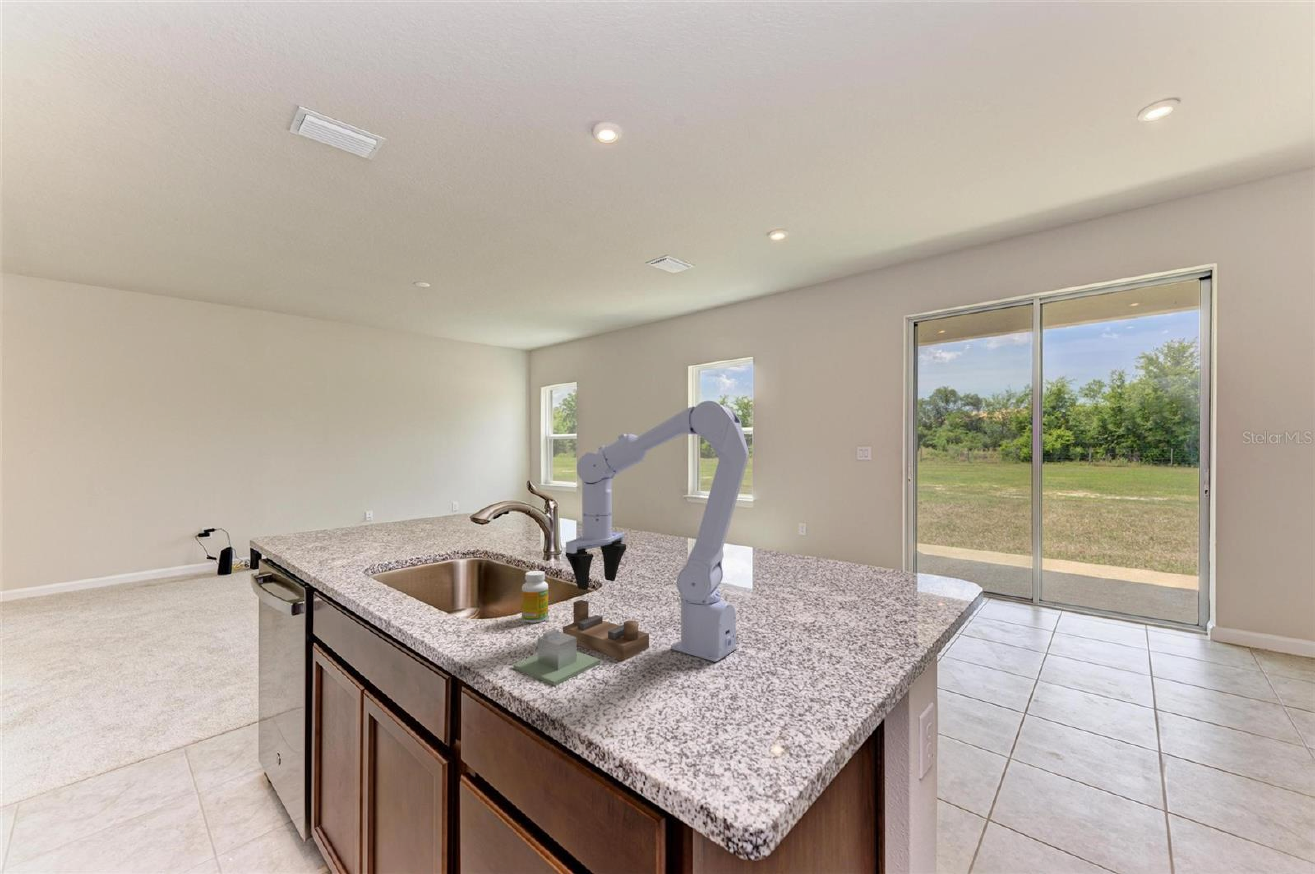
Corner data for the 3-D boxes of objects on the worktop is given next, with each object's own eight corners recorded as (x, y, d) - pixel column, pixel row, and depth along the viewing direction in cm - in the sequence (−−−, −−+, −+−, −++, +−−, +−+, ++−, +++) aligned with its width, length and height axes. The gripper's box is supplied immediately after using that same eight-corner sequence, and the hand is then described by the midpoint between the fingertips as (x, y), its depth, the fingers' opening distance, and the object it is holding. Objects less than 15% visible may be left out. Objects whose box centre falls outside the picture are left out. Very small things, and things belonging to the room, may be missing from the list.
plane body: (649, 647, 90) (649, 611, 90) (623, 660, 84) (623, 622, 85) (589, 629, 99) (589, 596, 99) (562, 640, 93) (562, 605, 94)
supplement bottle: (541, 624, 102) (541, 576, 102) (517, 622, 103) (517, 575, 103) (552, 616, 107) (552, 570, 107) (528, 614, 108) (529, 569, 109)
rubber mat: (600, 663, 83) (600, 659, 84) (554, 685, 76) (554, 681, 76) (559, 648, 90) (559, 645, 90) (513, 668, 82) (513, 664, 82)
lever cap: (576, 661, 83) (576, 633, 83) (558, 670, 79) (558, 641, 80) (556, 654, 86) (556, 627, 86) (537, 662, 82) (537, 634, 83)
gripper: (607, 509, 106) (607, 573, 106) (554, 516, 94) (554, 589, 94) (632, 511, 102) (632, 579, 101) (581, 519, 90) (580, 595, 90)
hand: (596, 584), depth 97 cm, fingers open, 7 cm apart
